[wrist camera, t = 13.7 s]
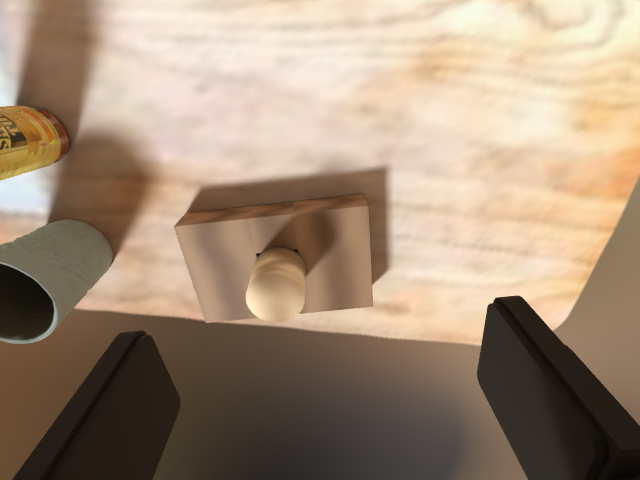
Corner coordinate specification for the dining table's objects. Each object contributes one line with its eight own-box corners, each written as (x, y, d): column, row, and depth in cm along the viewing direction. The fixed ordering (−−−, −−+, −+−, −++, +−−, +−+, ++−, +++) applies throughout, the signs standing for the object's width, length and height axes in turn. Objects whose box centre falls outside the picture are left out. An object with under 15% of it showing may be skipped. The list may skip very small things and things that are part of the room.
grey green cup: (58, 283, 46) (-20, 348, 35) (20, 215, 41) (-83, 265, 30) (130, 275, 45) (74, 339, 35) (101, 206, 41) (25, 254, 30)
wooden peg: (303, 230, 42) (300, 271, 34) (309, 272, 45) (308, 319, 37) (254, 236, 42) (239, 277, 34) (263, 277, 45) (251, 324, 37)
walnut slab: (363, 193, 41) (368, 205, 37) (368, 288, 47) (372, 306, 43) (185, 213, 41) (173, 226, 38) (214, 303, 48) (206, 322, 44)
